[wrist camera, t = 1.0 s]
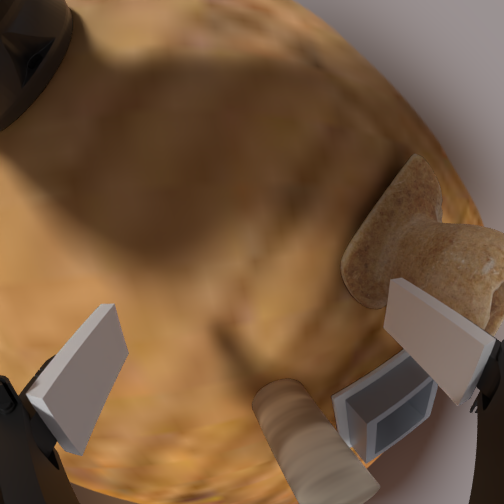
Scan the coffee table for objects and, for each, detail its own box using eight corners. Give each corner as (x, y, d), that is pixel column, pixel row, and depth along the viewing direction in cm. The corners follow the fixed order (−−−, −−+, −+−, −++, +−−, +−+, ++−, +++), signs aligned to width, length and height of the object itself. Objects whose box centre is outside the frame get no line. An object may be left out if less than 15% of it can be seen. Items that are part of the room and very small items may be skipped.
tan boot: (374, 325, 28) (474, 393, 14) (316, 260, 24) (459, 335, 10) (441, 227, 28) (540, 253, 14) (401, 151, 24) (528, 150, 10)
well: (331, 396, 29) (355, 424, 23) (422, 333, 32) (450, 350, 26) (340, 449, 33) (357, 471, 28) (414, 398, 36) (434, 415, 31)
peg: (244, 394, 25) (304, 517, 11) (298, 369, 26) (382, 475, 12) (260, 424, 27) (315, 528, 13) (308, 402, 28) (377, 495, 14)
